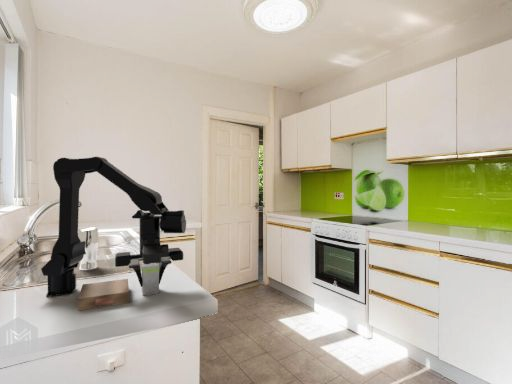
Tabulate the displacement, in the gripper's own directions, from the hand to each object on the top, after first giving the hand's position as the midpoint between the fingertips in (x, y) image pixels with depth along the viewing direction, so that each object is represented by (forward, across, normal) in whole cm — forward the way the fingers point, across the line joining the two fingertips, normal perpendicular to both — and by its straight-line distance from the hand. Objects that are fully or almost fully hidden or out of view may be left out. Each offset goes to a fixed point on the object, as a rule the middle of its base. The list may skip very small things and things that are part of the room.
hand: (150, 285), depth 87 cm
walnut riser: (+2, -12, 0) cm, 12 cm away
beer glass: (+2, -19, +36) cm, 41 cm away
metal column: (+2, 0, 0) cm, 2 cm away
